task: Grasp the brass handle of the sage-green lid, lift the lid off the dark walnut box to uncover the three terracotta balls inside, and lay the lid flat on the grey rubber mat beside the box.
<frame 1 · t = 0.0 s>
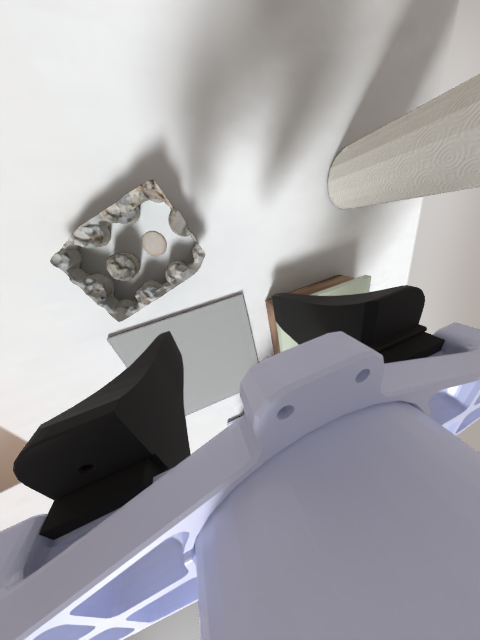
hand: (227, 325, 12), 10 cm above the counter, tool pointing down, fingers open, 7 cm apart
mat: (200, 363, 25), on the counter
box base: (305, 323, 28), on the counter
paper towel roll: (349, 181, 21), on the counter
lid: (321, 334, 25), point 4 cm above the counter, touching box base
egg carton: (143, 255, 18), on the counter
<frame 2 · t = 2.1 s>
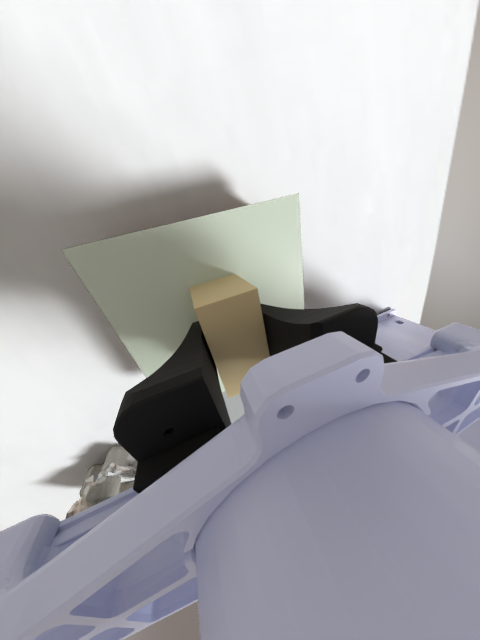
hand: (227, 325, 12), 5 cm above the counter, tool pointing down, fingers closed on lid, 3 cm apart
mat: (249, 412, 24), on the counter
lid: (222, 316, 13), point 4 cm above the counter, touching box base, gripper
egg carton: (142, 462, 23), on the counter
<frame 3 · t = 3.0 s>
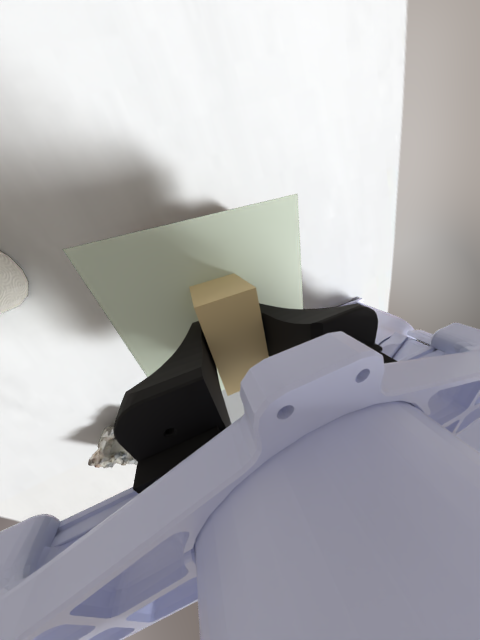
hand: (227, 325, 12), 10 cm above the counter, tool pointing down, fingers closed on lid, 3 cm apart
mat: (238, 386, 29), on the counter
lid: (221, 315, 13), point 8 cm above the counter, touching gripper
egg carton: (147, 426, 27), on the counter
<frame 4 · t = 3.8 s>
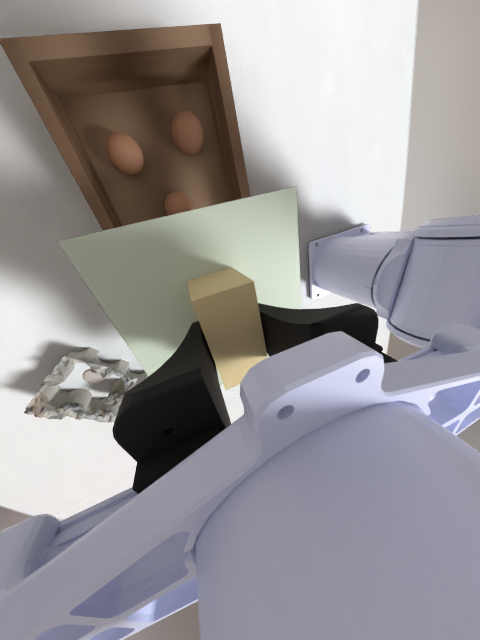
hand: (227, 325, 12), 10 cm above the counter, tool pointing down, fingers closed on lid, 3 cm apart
box base: (168, 179, 16), on the counter
lid: (219, 310, 13), point 9 cm above the counter, touching gripper
egg carton: (111, 377, 22), on the counter
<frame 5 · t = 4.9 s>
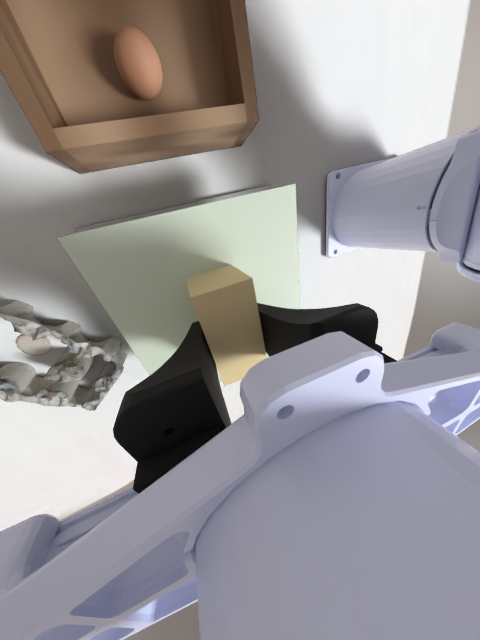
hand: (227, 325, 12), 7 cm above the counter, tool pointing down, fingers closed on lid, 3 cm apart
mat: (210, 294, 18), on the counter
box base: (124, 27, 10), on the counter
lid: (218, 307, 13), point 5 cm above the counter, touching gripper
egg carton: (61, 347, 17), on the counter
when the fingers open (3 cm above the counter, at t = 5.9 s): lid stays where it is, resting on mat.
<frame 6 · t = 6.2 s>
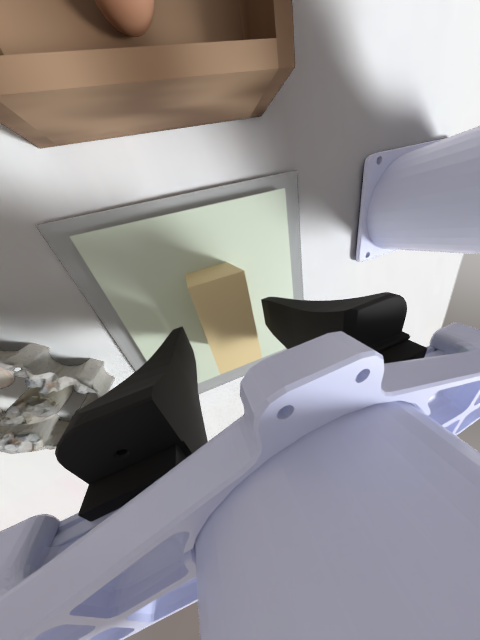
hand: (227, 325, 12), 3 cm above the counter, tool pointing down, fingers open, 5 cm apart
mat: (217, 307, 15), on the counter
lid: (216, 303, 14), resting on mat
egg carton: (29, 376, 13), on the counter
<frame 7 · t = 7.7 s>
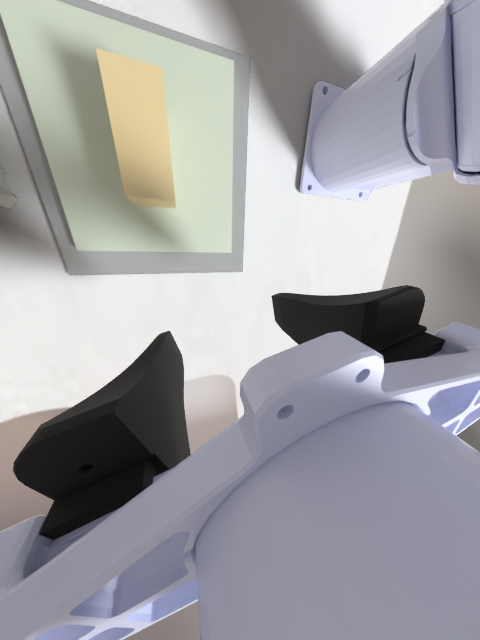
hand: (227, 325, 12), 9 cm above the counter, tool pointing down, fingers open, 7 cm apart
mat: (154, 175, 15), on the counter
lid: (152, 164, 14), resting on mat
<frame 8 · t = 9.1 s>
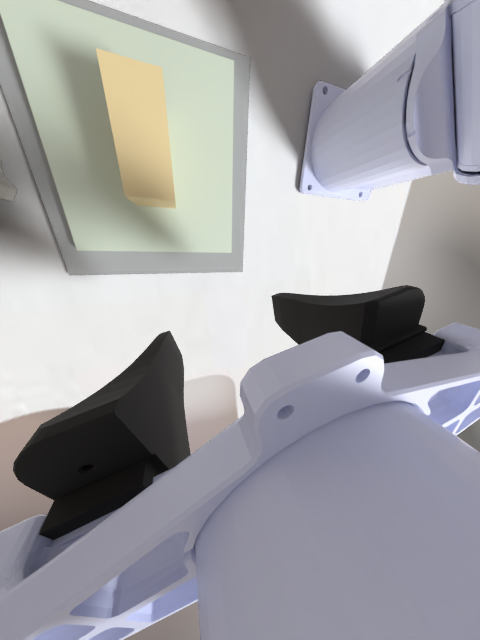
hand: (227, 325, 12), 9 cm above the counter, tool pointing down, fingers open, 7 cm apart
mat: (154, 175, 15), on the counter
lid: (152, 164, 14), resting on mat
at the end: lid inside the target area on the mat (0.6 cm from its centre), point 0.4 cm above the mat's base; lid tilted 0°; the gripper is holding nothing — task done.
